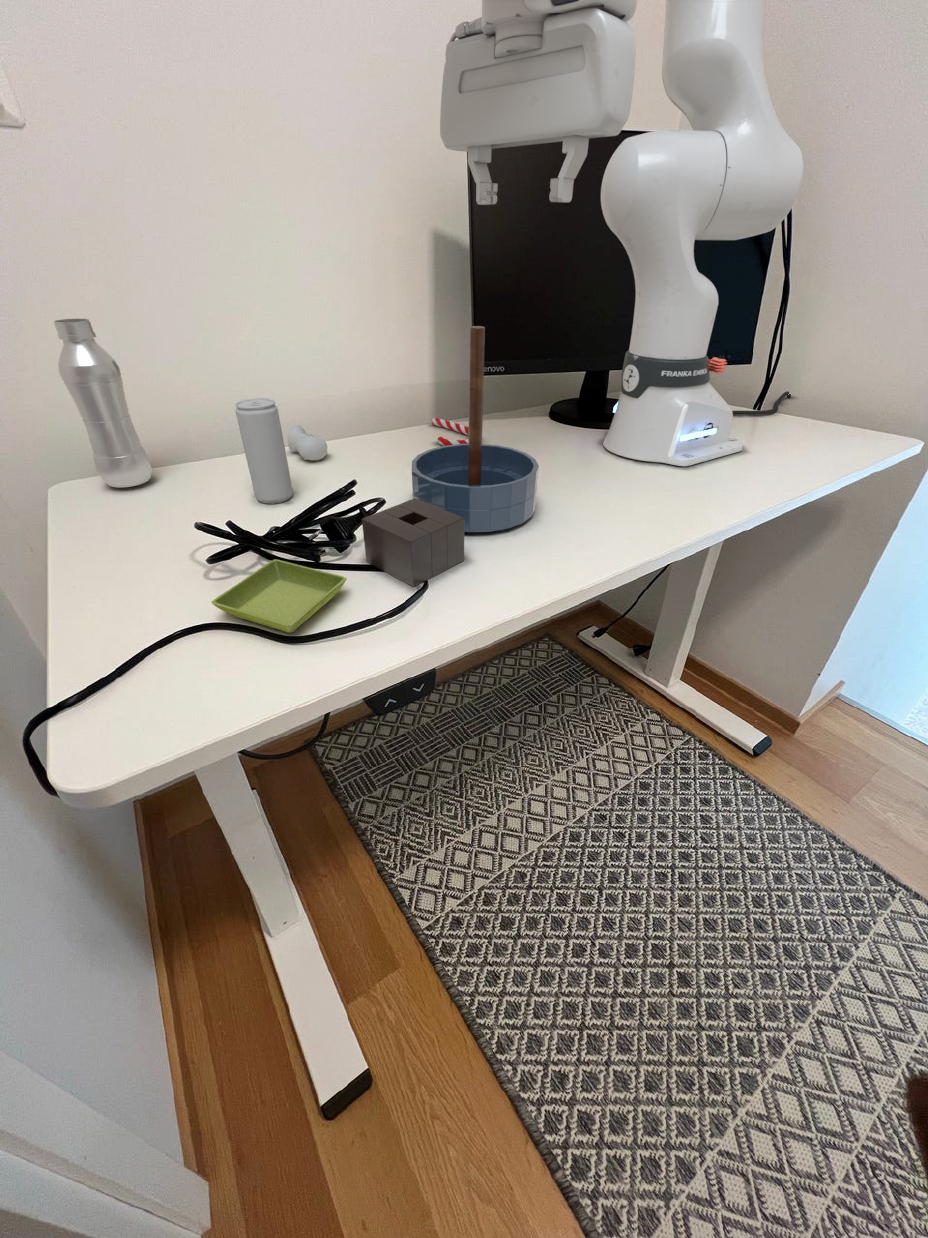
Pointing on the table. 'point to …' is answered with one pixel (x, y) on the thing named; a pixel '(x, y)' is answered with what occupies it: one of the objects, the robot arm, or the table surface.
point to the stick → (475, 403)
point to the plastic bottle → (101, 405)
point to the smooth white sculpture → (306, 444)
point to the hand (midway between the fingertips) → (521, 203)
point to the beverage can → (264, 449)
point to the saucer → (280, 595)
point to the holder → (414, 540)
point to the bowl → (485, 506)
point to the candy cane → (451, 426)
